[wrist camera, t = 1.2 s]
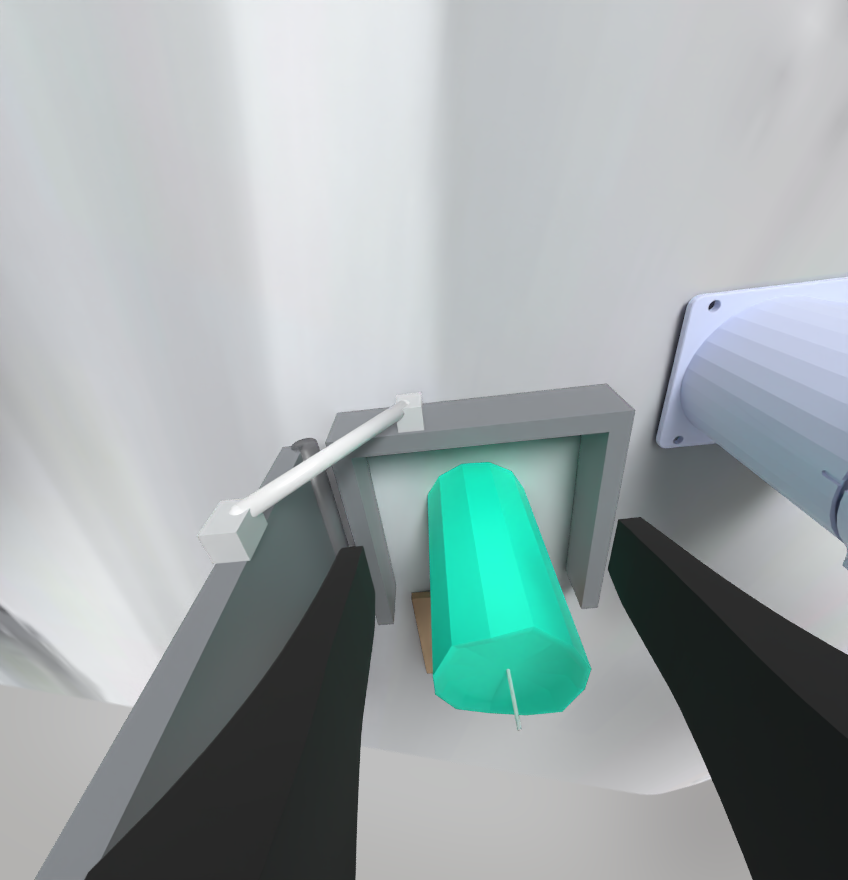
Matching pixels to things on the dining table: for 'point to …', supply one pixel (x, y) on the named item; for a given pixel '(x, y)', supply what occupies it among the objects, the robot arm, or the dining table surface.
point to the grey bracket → (319, 578)
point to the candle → (497, 600)
